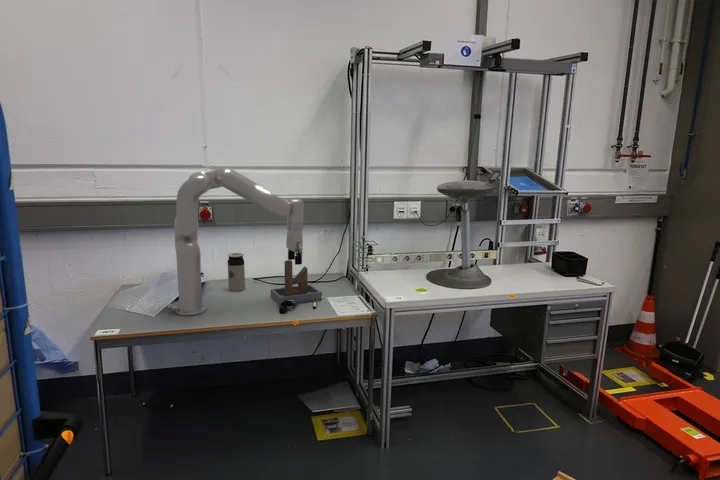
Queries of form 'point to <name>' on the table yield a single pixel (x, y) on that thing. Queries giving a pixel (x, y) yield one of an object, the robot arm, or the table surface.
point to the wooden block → (295, 280)
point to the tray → (301, 298)
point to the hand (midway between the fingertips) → (294, 261)
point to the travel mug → (236, 272)
